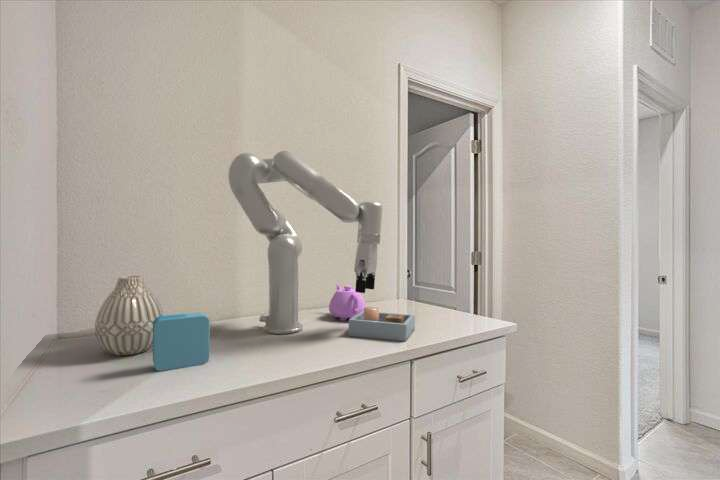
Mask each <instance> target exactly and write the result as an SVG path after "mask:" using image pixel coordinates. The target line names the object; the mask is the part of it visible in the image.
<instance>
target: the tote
mask: <svg viewBox="0 0 720 480" xmlns="http://www.w3.org/2000/svg"><path fill="white" fill-rule="evenodd" d="M389 314H392V315H404V323H403V324H402V323H391V322H385V317H387V316H388V315H389ZM415 328H416V315H415V314H405V313H395V312H394V313H392V312H382V311H379V321H368V320H364V311H362V312H360V313H359V314H357V315H356V316H354V317H352V318H348V336H349V337H360V338H368V339H379V340H387V341H388V340H390V341H397V342H399V341H400V342H407V341H408V339H409V338H410V337H411V336H412V335H413V333H414V332H415V330H416V329H415Z"/></svg>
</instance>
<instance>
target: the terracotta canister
mask: <svg viewBox="0 0 720 480" xmlns="http://www.w3.org/2000/svg"><path fill="white" fill-rule="evenodd" d="M379 312H380V307H376V306H366V307H365V308H364V320H368V321H379Z"/></svg>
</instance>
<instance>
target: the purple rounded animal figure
mask: <svg viewBox="0 0 720 480" xmlns="http://www.w3.org/2000/svg"><path fill="white" fill-rule="evenodd" d="M335 285H336V291H335V292H334V294H333V296H332V297H331V299H330V301H329V304H328V305H329V306H328V311H329V313H330V314H331V315H332V316H333V317H334V318H339V321H341V322H342V321H347V319H351V318H352V317H354V316H356V315H357V314H359V313H360V312H362V311H364V308H365V307H367V305H366V302H365V299H364V297H363V296H362V295H363V294H362V293H359V292H356V291H355V289H356V288H355V289H354V288H353V289H352V286H351V285H344V286H343V287H344V288H341V285H340V284H339V283H338V282H337V283H335Z"/></svg>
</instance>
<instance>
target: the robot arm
mask: <svg viewBox="0 0 720 480" xmlns="http://www.w3.org/2000/svg"><path fill="white" fill-rule="evenodd" d="M279 182H287V183H288V184H290V185H291V186H293V187H294V188H295V189H296V190H297V191H299V192H300V193H302V194H303V195H304V196H305V197H307V198H308V199H310V200H313V201H314V202H316V203H317V204H318V205H320V206H322V207H323V208H324V209H326V210H327V211H328V212H330V213H331V214H332V215H333V216H335V217H336V218H337V219H339V221H341V222H342V223H346V224H349V223H358V225H357V228H358V229H357V238H356V239H357V240H356V241H357V242H356V244H357V247H356V252H355V259H354V260H355V261H354V269H353V270H354V271H353V272H355V291H356V292H359V293H360V294H365V293H366V290H374V289H375V285H376V284H375V283H376V282H375V280H376V271H377V264H378V245H380V244H381V231H382V230H381V229H382V219H383V217H382V215H383V205H382V204H381V203H380V202H376V201H362V202H356V201H355V199H354V198H352V197H351V196H349V195H348V194H346V193H345V192H344V191H342V190H341V189H340V188H338V187H337V186H336V185H334V184H333V183H332V182H330V181H329V180H328V179H327V178H326V177H325V176H323V175H322V174H321V173H319V172H318V171H317V170H315V169H314V168H312V167H311V166H309V165H308V164H307V163H305V162H304V161H303V160H301V159H300V158H299V156H296V155H295V154H294V153H292V152H290V151H288V150H281V151H279V152H277V153H276V154H275V155H274V157H273V158H263V159H261V158H260V157H258V156H257V155H256V154H253V153H251V152H243V153H239V154H238V155H237V156H235V158H234V159H233V160H232V162H231V164H230V166H229V169H228V184H229V187H230V190H231V192H232V194H233V195H234V197H235V199H236V200H237V202H238V204H239V205H240V206H241V209H242V210H243V212H244V213H245V215H246V217H247V219H248V220H249V221H250V223H251V224H252V226H253V228H254V230H255V231H256V232H257V233H259V234H260V235H263V236H265V238H266V239H267V241H268V247H267V264H268V289H269V290H268V315H267V314H261V315H260V317H259V319H258V321H259V322H262V323H265V325H264V326H263V330H264V332H266V333H267V334H268V333H269V334H274V335H276V334H277V335H286V334H294V333H297V332H300V331H302V330H303V327H304V325H303V324H302V323H301V322H299V263H298V261H299V257H300V256H301V254H302V251H303V244H302V240H300V237H299V236H298V235H297V233H296V231H295V230H294V228H293V227H292V225H291V224H290V222H289V220H288V219H287V218H286V217H285V215H284V214H283V212H281V211H280V210H279V209H276V208H275V207H273V205H272V204H271V203H270V201H269V200H268V198H267V197H266V195H265V193H264V192H263V190H262V189H261V187H260V186H259V184H268V183H279Z"/></svg>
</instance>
